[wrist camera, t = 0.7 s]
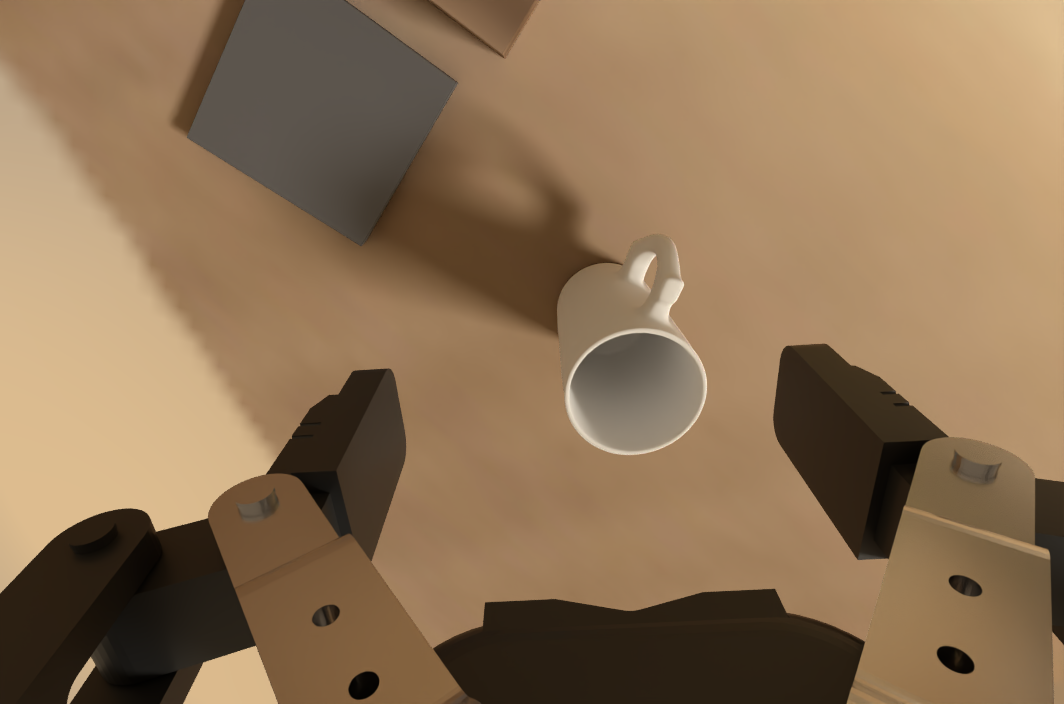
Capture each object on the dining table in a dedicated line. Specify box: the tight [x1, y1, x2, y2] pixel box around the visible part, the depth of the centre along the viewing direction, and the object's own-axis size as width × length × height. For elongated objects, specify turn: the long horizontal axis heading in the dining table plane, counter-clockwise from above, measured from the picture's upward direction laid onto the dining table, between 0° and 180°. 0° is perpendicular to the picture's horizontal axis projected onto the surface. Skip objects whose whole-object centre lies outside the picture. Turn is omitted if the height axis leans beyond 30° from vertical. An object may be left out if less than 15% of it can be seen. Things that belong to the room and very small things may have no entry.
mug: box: [557, 234, 707, 455], centre depth 33 cm, size 10×7×12 cm, turn 162°
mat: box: [187, 0, 458, 246], centre depth 33 cm, size 11×11×1 cm
